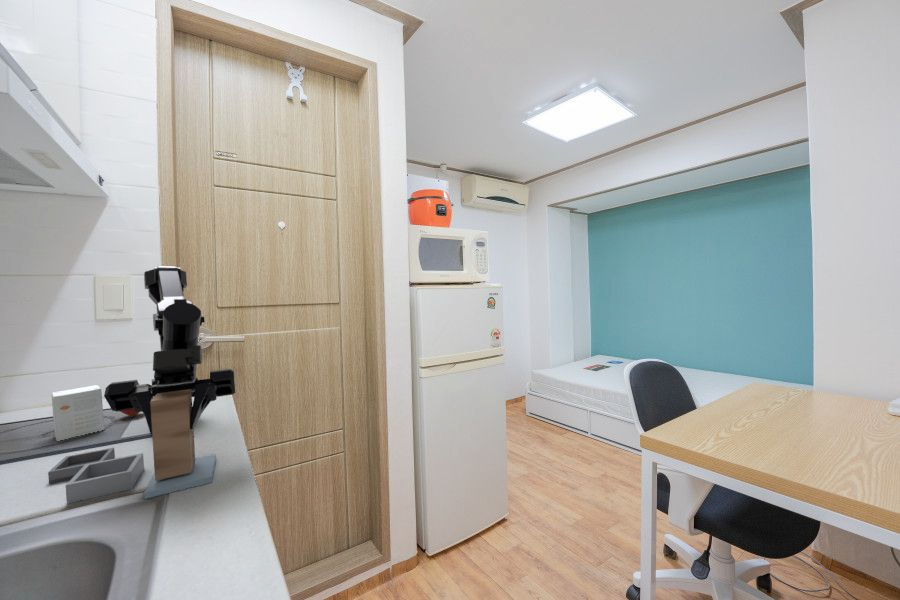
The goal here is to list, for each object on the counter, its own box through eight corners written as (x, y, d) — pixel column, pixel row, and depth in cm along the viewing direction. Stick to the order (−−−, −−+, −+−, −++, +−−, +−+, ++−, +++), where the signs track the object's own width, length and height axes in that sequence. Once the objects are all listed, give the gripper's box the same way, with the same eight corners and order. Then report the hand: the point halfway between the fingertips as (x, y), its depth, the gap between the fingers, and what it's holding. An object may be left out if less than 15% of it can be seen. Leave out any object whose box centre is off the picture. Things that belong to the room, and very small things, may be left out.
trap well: (66, 466, 69) (65, 456, 69) (114, 457, 72) (114, 447, 72) (48, 483, 63) (48, 472, 63) (102, 472, 66) (101, 461, 66)
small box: (101, 425, 90) (98, 384, 90) (105, 430, 87) (102, 387, 86) (54, 436, 84) (51, 392, 83) (56, 442, 80) (52, 396, 80)
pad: (157, 471, 66) (157, 466, 66) (216, 458, 70) (215, 453, 70) (144, 499, 57) (143, 492, 57) (211, 482, 61) (211, 476, 61)
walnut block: (161, 467, 64) (156, 393, 64) (195, 460, 67) (191, 389, 66) (155, 480, 60) (150, 401, 59) (191, 472, 62) (187, 396, 62)
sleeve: (86, 480, 63) (85, 464, 63) (144, 468, 67) (143, 452, 67) (66, 503, 56) (65, 485, 56) (132, 488, 60) (131, 471, 60)
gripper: (104, 336, 61) (82, 421, 52) (231, 328, 70) (232, 398, 61) (121, 373, 68) (105, 452, 59) (235, 360, 77) (236, 427, 68)
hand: (172, 431), depth 62 cm, fingers open, 5 cm apart
